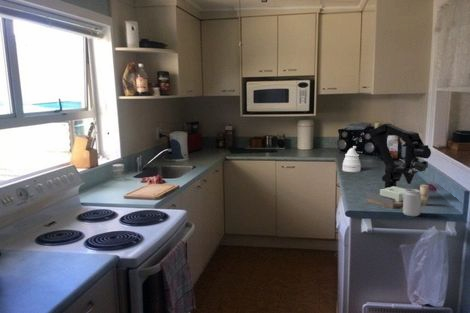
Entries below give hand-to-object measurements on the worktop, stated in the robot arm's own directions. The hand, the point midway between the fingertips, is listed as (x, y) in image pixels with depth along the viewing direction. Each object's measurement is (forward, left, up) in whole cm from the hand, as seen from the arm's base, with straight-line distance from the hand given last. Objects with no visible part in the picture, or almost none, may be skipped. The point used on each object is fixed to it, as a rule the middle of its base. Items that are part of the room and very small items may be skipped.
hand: (409, 183), depth 206 cm
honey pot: (-31, -68, -8) cm, 75 cm away
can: (+26, +19, -8) cm, 33 cm away
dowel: (+7, +13, -7) cm, 17 cm away
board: (+15, 0, -7) cm, 17 cm away
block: (+11, 0, -6) cm, 13 cm away
